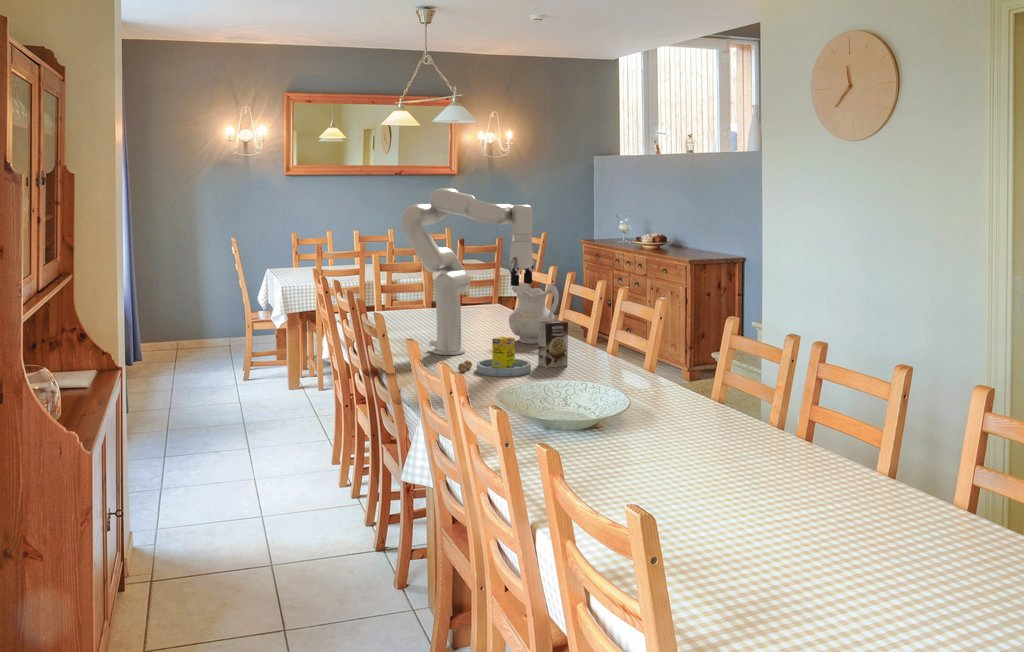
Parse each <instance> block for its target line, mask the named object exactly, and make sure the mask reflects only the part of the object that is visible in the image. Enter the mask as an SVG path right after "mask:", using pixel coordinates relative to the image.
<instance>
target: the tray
mask: <svg viewBox="0 0 1024 652" xmlns="http://www.w3.org/2000/svg"><path fill="white" fill-rule="evenodd" d="M531 365H532V363H531V361H529V360H526V359H522V358H521V359H520V358H515V368H492V358H488V359H486V358H485V359H481V360H480V361H479V360H478V361H477V362H476V373H478V374H479V375H482V376H488V377H495V378H496V377H497V378H505V377H507V378H509V377H519V376H526V375H528V374H530V373H531V370H532V369H531V367H532V366H531Z"/></svg>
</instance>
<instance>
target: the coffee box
mask: <svg viewBox="0 0 1024 652" xmlns="http://www.w3.org/2000/svg"><path fill="white" fill-rule="evenodd" d="M537 348H538V351H537V352H538V353H537V354H538V355H537V356H538V360H537V363H538V365H537V366H541V367H543V368H545V369H549V368H550V369H551V368H557V367H561V368H562V367H567V366H568V359H569V358H568V357H569V356H568V354H569V352H568V351H569V349H568V348H569V322H568V321H565V320H559V319H558V320H555V321H543V322H539V343H538V347H537Z"/></svg>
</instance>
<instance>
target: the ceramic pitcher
mask: <svg viewBox="0 0 1024 652" xmlns="http://www.w3.org/2000/svg"><path fill="white" fill-rule="evenodd" d="M511 290H512V292H513V293H515V294H516V297H517V300H518V303H517V306H516V308H514V310H513V311H512V312H510V314H509V316H508V325H509V327H510V330H511V332H512V334H514V335H515V336H517V337H518V338H519V339H518V342H519V343H522V344H525V343H526V344H525V345H529V344H539V322H543V321H556V320H555V314H554V313H555V312H556V310H557V307H558V306H559V299H560V298H559V292H558V288H557V285H555V284H554V283H548V284H547V288H546V290H545V291H544V290H543V289H541V288H539V287H538V288H537V287H534V288H532V287H531V286H530V284H528V283H524V282H519V286H511ZM549 294H552V295H553V302H552V304H551V306H550V310H549V308H547V305H546V298H547V296H548V295H549Z"/></svg>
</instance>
